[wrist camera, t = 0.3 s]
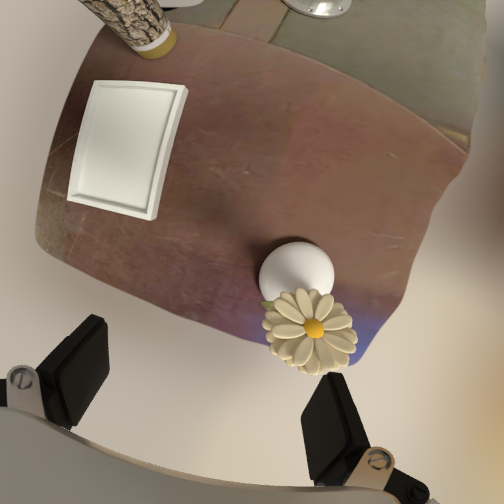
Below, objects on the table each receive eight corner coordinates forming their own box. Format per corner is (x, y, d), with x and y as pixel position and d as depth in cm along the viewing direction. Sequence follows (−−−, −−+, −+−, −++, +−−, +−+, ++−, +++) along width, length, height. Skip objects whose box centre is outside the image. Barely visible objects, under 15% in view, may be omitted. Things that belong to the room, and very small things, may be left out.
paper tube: (154, 67, 33) (68, -13, 9) (130, 49, 32) (45, -23, 8) (186, 39, 32) (129, -61, 8) (161, 22, 31) (97, -66, 7)
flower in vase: (345, 269, 42) (428, 365, 18) (298, 320, 44) (331, 444, 20) (283, 216, 40) (327, 278, 16) (234, 274, 42) (213, 391, 18)
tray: (101, 84, 34) (94, 80, 31) (188, 90, 35) (184, 85, 32) (75, 198, 39) (67, 199, 36) (156, 218, 40) (150, 220, 37)
